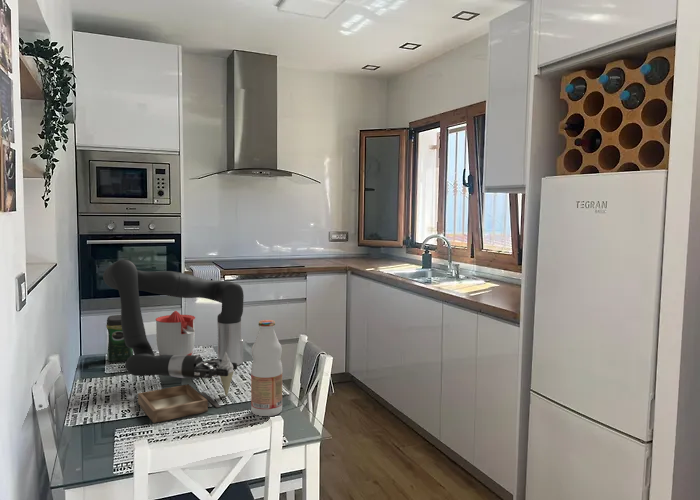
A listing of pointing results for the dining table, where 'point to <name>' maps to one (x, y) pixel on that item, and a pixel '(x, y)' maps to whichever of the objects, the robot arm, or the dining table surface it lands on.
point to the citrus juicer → (175, 334)
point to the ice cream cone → (227, 379)
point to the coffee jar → (116, 340)
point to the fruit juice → (266, 372)
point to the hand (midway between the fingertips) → (232, 369)
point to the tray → (174, 402)
